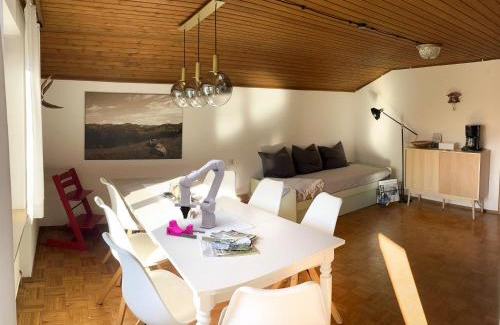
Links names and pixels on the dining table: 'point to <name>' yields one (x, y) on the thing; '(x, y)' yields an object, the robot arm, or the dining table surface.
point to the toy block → (178, 229)
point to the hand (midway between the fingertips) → (185, 218)
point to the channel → (191, 235)
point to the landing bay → (212, 237)
